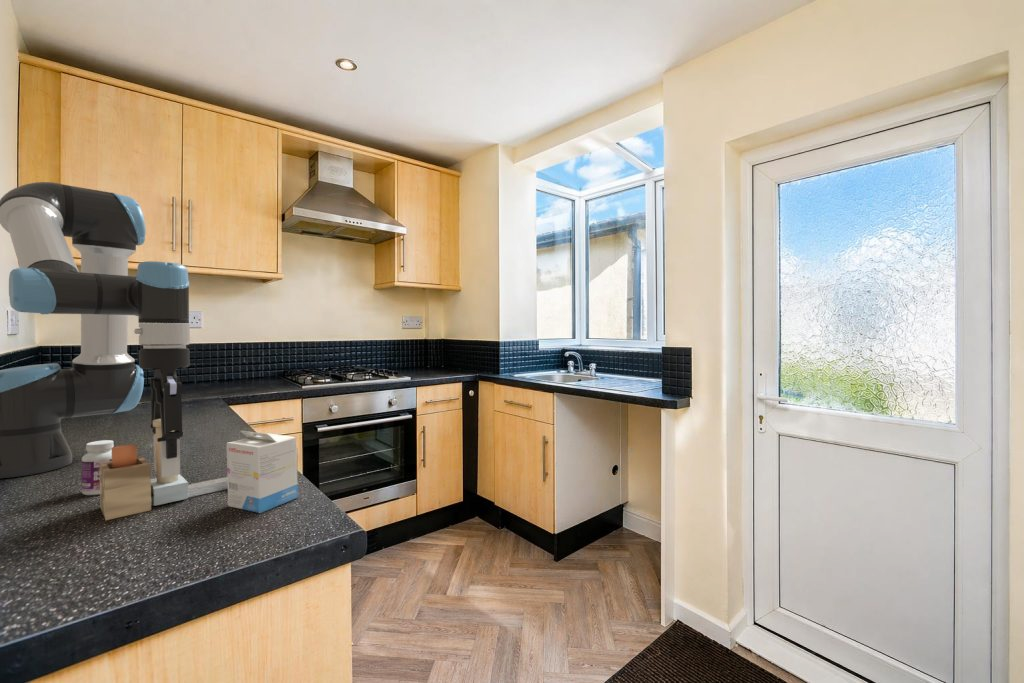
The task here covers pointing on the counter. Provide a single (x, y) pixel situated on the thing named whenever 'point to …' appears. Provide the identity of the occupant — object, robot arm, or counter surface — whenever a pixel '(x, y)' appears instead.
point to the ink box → (261, 471)
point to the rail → (205, 487)
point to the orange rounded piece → (124, 456)
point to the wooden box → (125, 489)
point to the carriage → (166, 478)
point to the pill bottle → (94, 465)
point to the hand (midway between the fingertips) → (166, 471)
